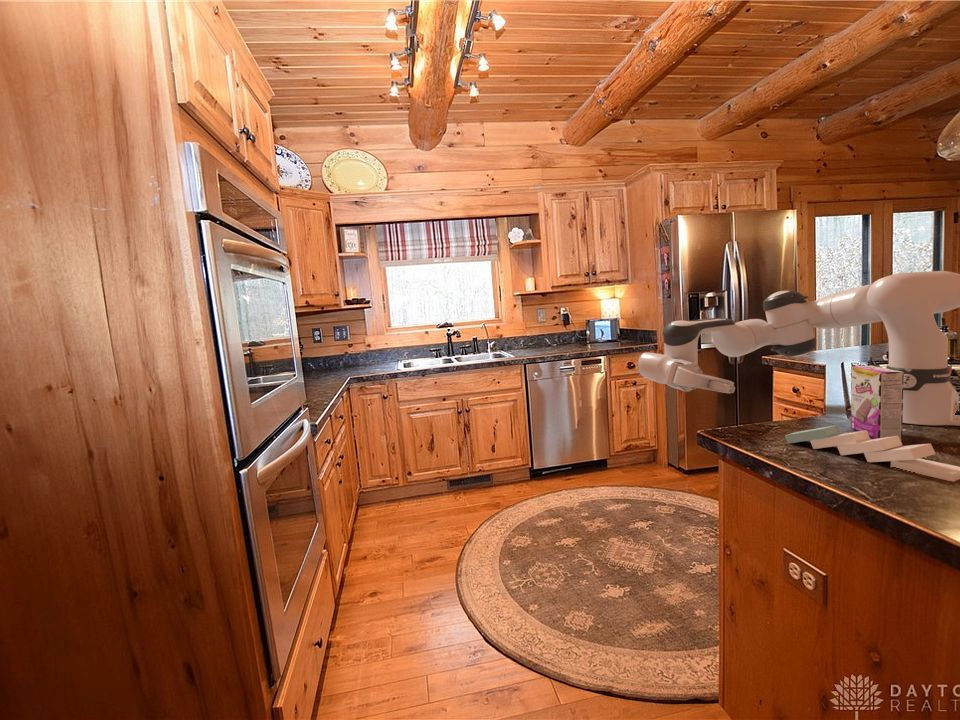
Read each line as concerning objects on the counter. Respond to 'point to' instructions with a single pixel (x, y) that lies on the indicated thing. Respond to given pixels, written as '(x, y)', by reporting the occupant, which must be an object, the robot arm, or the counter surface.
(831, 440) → the domino
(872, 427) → the candy bar box
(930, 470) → the domino
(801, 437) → the domino
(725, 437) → the counter surface
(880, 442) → the domino
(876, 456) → the domino
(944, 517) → the counter surface
